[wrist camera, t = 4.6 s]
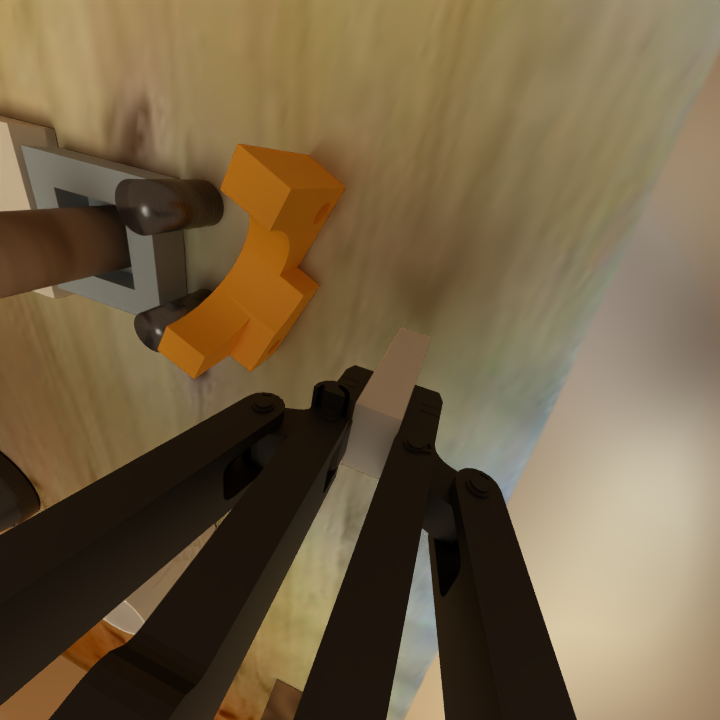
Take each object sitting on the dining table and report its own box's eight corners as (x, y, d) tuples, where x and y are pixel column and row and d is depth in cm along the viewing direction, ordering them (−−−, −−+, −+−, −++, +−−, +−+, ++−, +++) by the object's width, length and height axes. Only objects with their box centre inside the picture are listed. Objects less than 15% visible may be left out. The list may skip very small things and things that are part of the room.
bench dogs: (194, 318, 26) (137, 344, 21) (185, 175, 21) (110, 173, 17) (224, 328, 25) (172, 357, 21) (223, 185, 20) (155, 185, 16)
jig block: (91, 279, 27) (58, 287, 25) (63, 148, 23) (20, 145, 20) (188, 312, 26) (161, 324, 23) (179, 178, 21) (145, 178, 19)
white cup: (221, 506, 36) (141, 606, 28) (220, 548, 40) (151, 647, 32) (158, 478, 37) (63, 565, 29) (164, 521, 41) (82, 609, 33)
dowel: (105, 257, 25) (-88, 295, 17) (94, 198, 23) (-132, 207, 14) (150, 272, 24) (-26, 320, 16) (144, 213, 22) (-63, 230, 14)
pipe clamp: (275, 351, 25) (218, 398, 20) (228, 313, 25) (157, 350, 19) (371, 208, 19) (327, 219, 13) (310, 155, 18) (237, 143, 13)
